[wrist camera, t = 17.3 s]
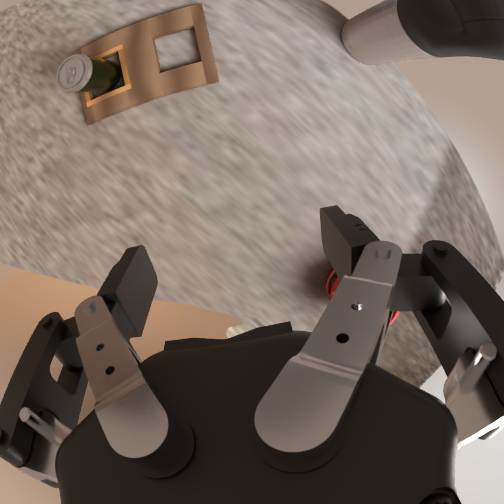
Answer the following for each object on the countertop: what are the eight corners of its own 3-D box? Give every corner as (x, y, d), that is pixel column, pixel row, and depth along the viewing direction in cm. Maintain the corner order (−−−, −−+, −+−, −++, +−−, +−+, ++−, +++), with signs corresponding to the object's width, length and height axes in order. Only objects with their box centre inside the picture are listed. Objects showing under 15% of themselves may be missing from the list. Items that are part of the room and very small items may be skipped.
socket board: (202, 6, 29) (201, 2, 27) (219, 81, 36) (218, 80, 34) (76, 53, 29) (71, 53, 28) (91, 124, 37) (86, 125, 35)
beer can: (121, 90, 35) (87, 89, 24) (93, 94, 34) (53, 95, 24) (124, 59, 32) (91, 49, 22) (95, 64, 31) (56, 57, 21)
